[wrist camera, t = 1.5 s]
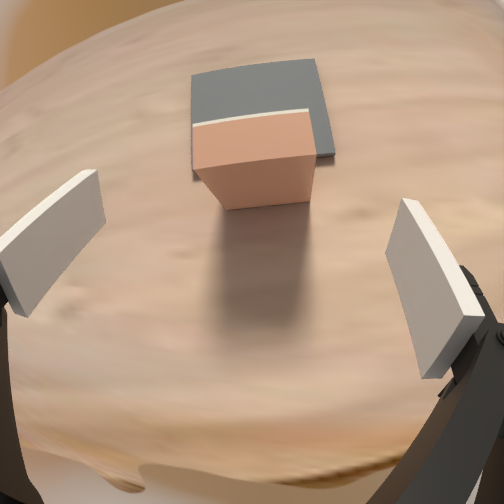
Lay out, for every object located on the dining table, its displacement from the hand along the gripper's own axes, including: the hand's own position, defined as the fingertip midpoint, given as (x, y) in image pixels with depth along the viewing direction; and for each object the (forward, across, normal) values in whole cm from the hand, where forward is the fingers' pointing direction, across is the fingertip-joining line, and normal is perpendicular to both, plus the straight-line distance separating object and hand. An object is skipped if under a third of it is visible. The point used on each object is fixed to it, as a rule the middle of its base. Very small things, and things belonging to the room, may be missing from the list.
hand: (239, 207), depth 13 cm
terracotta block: (+21, 0, -8) cm, 22 cm away
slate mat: (+27, -2, -1) cm, 27 cm away
